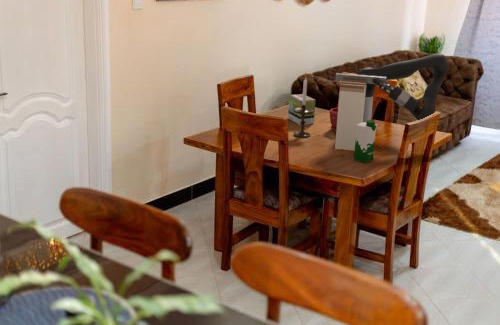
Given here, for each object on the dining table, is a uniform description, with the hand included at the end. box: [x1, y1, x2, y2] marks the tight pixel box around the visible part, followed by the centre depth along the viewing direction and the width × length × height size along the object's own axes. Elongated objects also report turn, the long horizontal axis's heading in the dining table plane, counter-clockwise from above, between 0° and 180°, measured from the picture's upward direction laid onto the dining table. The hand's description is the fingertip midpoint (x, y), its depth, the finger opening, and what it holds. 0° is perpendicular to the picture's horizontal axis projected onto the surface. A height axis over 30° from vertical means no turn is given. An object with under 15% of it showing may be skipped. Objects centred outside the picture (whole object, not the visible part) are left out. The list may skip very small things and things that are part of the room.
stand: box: [334, 79, 366, 151], centre depth 355 cm, size 12×24×34 cm, turn 168°
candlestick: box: [293, 72, 314, 139], centre depth 366 cm, size 11×11×35 cm
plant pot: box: [329, 107, 338, 132], centre depth 383 cm, size 13×13×12 cm
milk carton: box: [353, 119, 378, 164], centre depth 332 cm, size 9×9×20 cm
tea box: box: [287, 93, 316, 126], centre depth 398 cm, size 15×10×15 cm
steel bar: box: [334, 72, 387, 84], centre depth 355 cm, size 26×4×4 cm, turn 78°
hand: (373, 78), depth 354 cm, fingers open, 8 cm apart
